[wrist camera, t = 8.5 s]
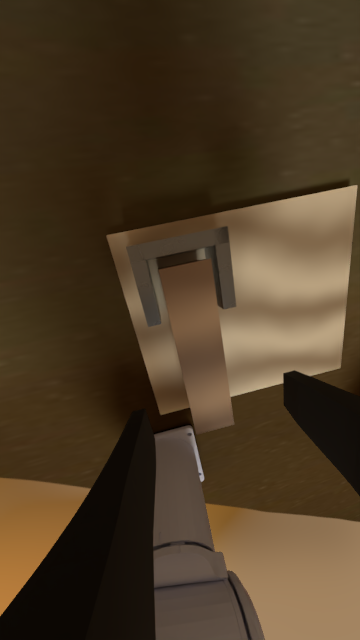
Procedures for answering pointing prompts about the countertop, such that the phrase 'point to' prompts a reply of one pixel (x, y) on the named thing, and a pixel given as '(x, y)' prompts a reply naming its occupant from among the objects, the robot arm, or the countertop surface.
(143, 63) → the countertop surface
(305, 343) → the mounting board
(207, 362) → the rail
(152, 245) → the bracket
